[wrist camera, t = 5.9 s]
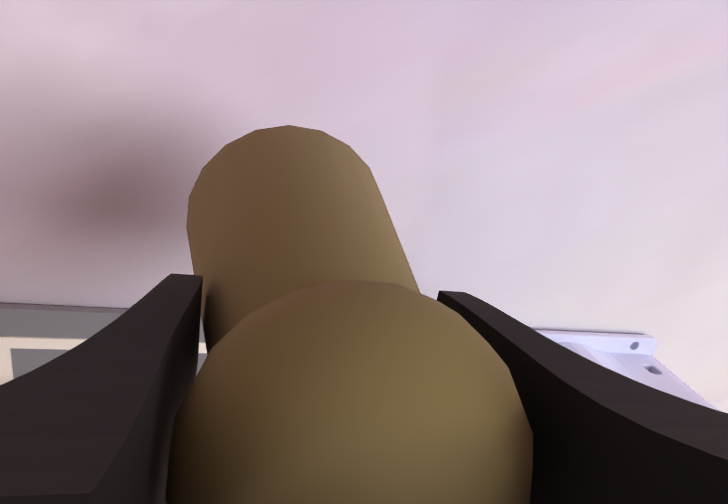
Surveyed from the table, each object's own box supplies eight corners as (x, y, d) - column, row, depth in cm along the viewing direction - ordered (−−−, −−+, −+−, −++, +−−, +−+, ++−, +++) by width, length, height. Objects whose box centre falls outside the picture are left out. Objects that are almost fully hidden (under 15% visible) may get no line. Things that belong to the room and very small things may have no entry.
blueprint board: (360, 319, 23) (362, 325, 23) (317, 541, 29) (318, 549, 28) (-42, 301, 19) (-49, 307, 19) (-3, 562, 25) (-7, 572, 24)
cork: (194, 314, 16) (141, 764, 7) (176, 123, 14) (48, 394, 4) (376, 301, 18) (554, 654, 8) (390, 126, 15) (677, 331, 5)
